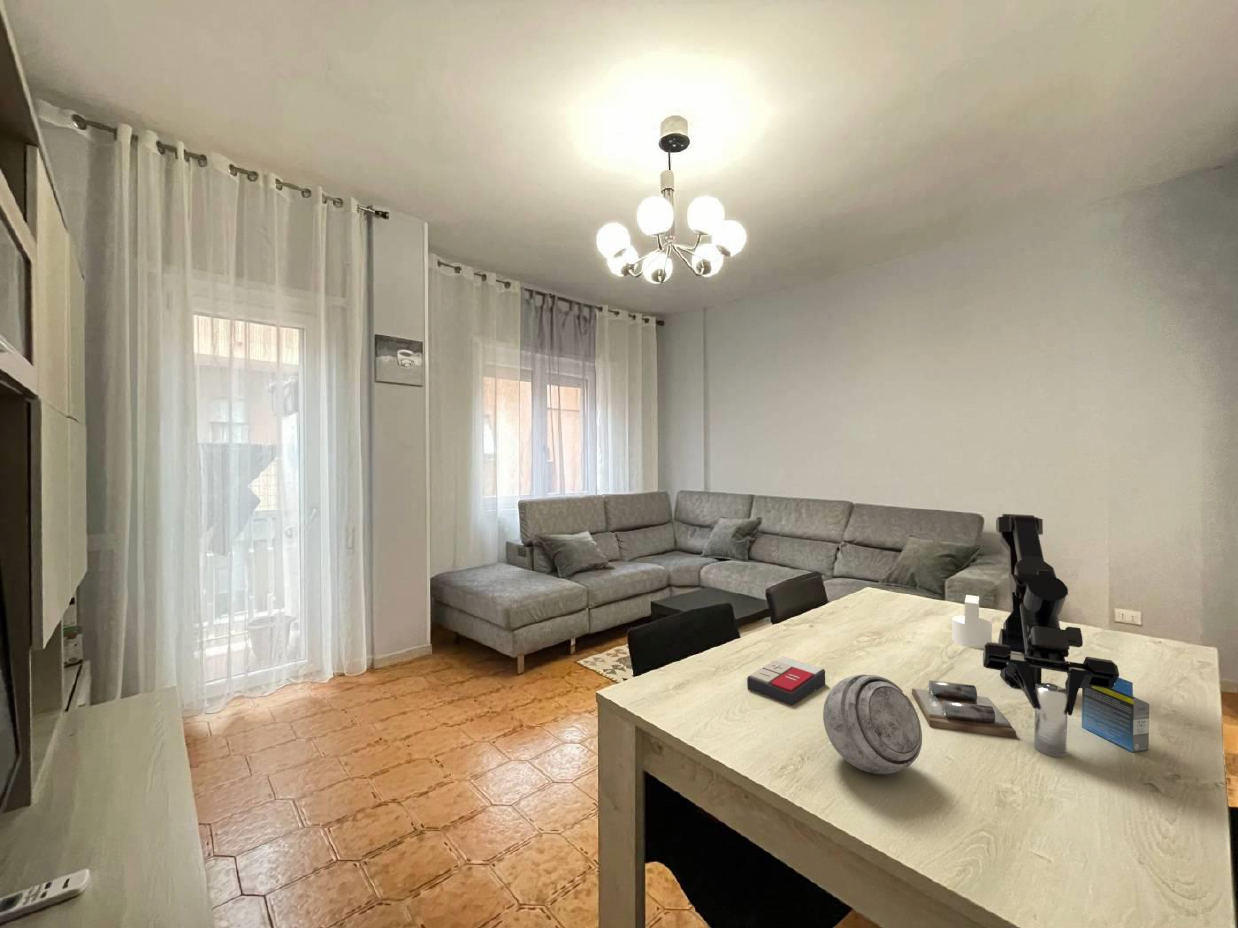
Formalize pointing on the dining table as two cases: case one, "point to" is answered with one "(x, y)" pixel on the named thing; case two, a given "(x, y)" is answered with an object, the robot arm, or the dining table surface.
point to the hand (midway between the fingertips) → (1052, 711)
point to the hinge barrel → (1051, 720)
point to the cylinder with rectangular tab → (971, 626)
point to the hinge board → (963, 721)
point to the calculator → (786, 680)
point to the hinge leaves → (960, 704)
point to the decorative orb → (872, 724)
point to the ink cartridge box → (1116, 715)
